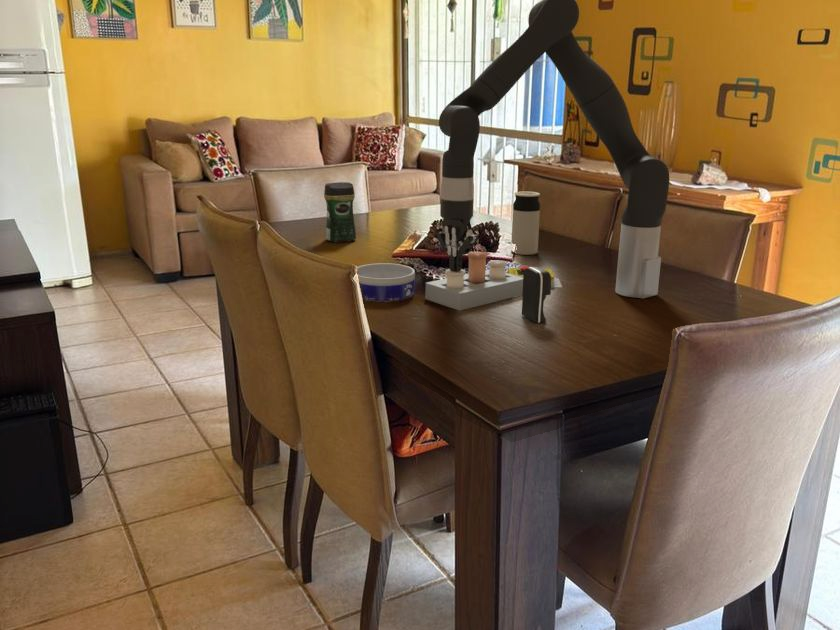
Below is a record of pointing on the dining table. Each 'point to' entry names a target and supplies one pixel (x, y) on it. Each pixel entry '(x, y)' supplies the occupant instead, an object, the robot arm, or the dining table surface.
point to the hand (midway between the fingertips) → (455, 270)
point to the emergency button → (520, 271)
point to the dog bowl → (386, 282)
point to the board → (474, 291)
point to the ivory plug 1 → (455, 279)
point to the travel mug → (526, 222)
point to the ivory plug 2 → (497, 269)
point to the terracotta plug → (477, 267)
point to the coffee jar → (340, 211)
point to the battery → (535, 293)
